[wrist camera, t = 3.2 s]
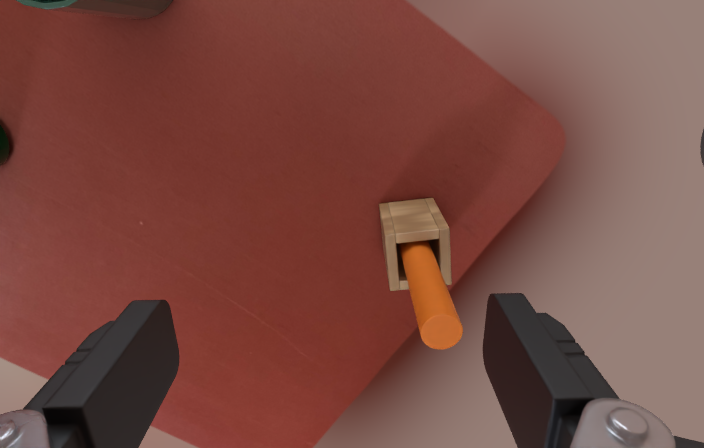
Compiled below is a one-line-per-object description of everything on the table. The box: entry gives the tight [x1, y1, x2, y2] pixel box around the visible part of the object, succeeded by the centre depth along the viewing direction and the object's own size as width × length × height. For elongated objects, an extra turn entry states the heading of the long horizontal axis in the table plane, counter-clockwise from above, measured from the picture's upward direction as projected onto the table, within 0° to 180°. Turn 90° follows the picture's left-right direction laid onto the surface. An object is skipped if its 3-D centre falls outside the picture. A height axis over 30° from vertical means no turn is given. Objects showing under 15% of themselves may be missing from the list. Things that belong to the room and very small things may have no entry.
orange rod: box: [398, 240, 463, 349], centre depth 33 cm, size 2×2×16 cm
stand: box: [379, 198, 452, 291], centre depth 37 cm, size 5×5×7 cm
